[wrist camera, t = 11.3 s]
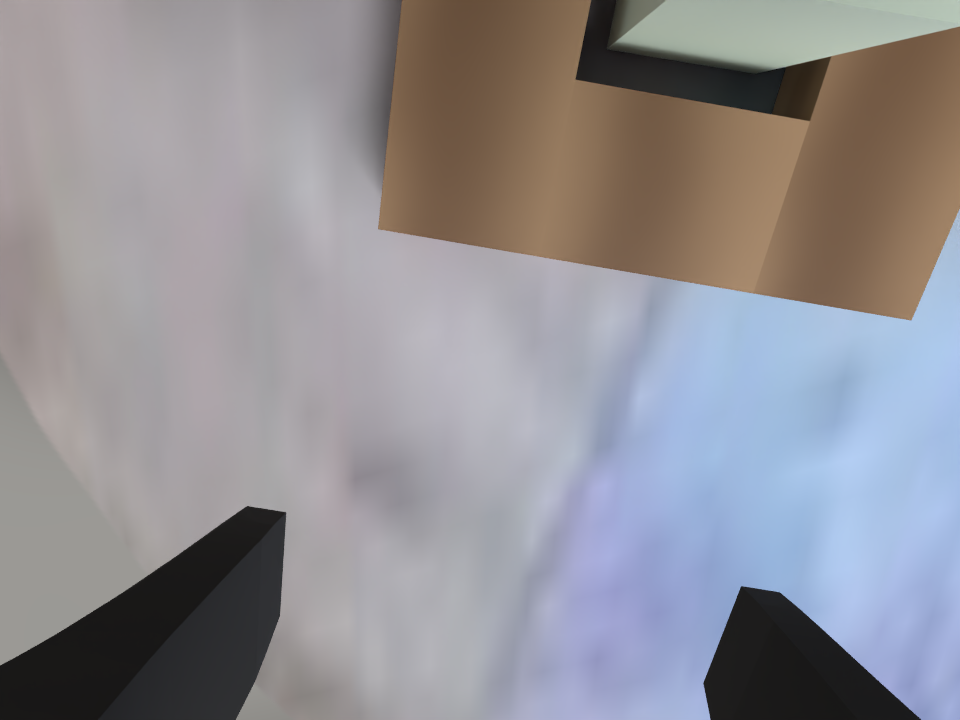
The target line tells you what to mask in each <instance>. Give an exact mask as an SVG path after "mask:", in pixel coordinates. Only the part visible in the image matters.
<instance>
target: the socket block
mask: <svg viewBox="0 0 960 720" xmlns="http://www.w3.org/2000/svg"><path fill="white" fill-rule="evenodd" d="M590 4H591V0H402V4H401V14H400V24H399V33H398V43H397V53H396V62H395V72H394V81H393V91H392V101H391V110H390V120H389V130H388V139H387V149H386V158H385V168H384V178H383V187H382V197H381V207H380V216H379V226H378V229H381V230H387V231H393V232H398V233H404V234H410V235H416V236H422V237H428V238H433V239H439V240H445V241H451V242H457V243H463V244H468V245H474V246H480V247H486V248H492V249H498V250H503V251H509V252H515V253H521V254H527V255H533V256H538V257H544V258H550V259H556V260H562V261H568V262H574V263H579V264H585V265H591V266H597V267H603V268H609V269H614V270H620V271H626V272H632V273H638V274H644V275H649V276H655V277H661V278H667V279H673V280H679V281H684V282H690V283H696V284H702V285H708V286H714V287H719V288H725V289H731V290H737V291H743V292H749V293H754V294H760V295H766V296H772V297H778V298H784V299H789V300H795V301H801V302H807V303H813V304H819V305H824V306H830V307H836V308H842V309H848V310H854V311H859V312H865V313H871V314H877V315H883V316H889V317H895V318H900V319H906V320H912V318H913V315H914V313H915V311H916V308H917V306H918V304H919V301H920V299H921V297H922V294H923V292H924V290H925V287H926V285H927V283H928V280H929V278H930V276H931V274H932V271H933V269H934V267H935V264H936V262H937V260H938V257H939V255H940V253H941V250H942V248H943V246H944V243H945V241H946V239H947V236H948V234H949V232H950V229H951V227H952V225H953V222H954V220H955V218H956V215H957V213H958V211H959V209H960V27H955V28H951V29H947V30H943V31H938V32H934V33H930V34H925V35H921V36H917V37H912V38H908V39H904V40H899V41H895V42H891V43H886V44H882V45H878V46H873V47H869V48H865V49H860V50H856V51H852V52H847V53H843V54H839V55H834V56H830V57H826V58H821V59H817V60H813V61H808V62H804V63H800V64H795V65H791V66H787V67H786V69H785V73H784V76H783V79H782V82H781V86H780V89H779V92H778V95H777V99H776V102H775V105H774V108H773V112H772V114H766V113H761V112H755V111H749V110H744V109H738V108H732V107H727V106H721V105H715V104H710V103H704V102H699V101H693V100H687V99H682V98H676V97H670V96H665V95H659V94H653V93H648V92H642V91H636V90H631V89H625V88H619V87H614V86H608V85H603V84H597V83H591V82H586V81H580V80H575V79H576V74H577V69H578V64H579V59H580V54H581V49H582V44H583V39H584V34H585V29H586V24H587V19H588V14H589V9H590Z"/></svg>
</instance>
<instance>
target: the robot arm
mask: <svg viewBox="0 0 960 720" xmlns="http://www.w3.org/2000/svg"><path fill="white" fill-rule="evenodd" d="M285 523H286V512H280V511H274V510H268V509H262V508H255V507H249V506H247V507H245V508H244V509H242V510H241V511H239V512H238V513H236V514H235V515H234V516H232V517H231V518H229V519H228V520H226V521H225V522H224V523H222V524H221V525H219V526H218V527H217V528H215V529H214V530H212V531H211V532H210V533H208V534H207V535H205V536H204V537H203V538H201V539H200V540H198V541H197V542H196V543H194V544H193V545H191V546H190V547H189V548H187V549H186V550H184V551H183V552H182V553H180V554H179V555H177V556H176V557H174V558H173V559H172V560H170V561H169V562H167V563H166V564H164V565H163V566H161V567H160V568H158V569H157V570H155V571H154V572H152V573H151V574H150V575H148V576H147V577H145V578H144V579H142V580H141V581H139V582H138V583H137V584H135V585H133V586H132V587H131V588H129V589H128V590H126V591H125V592H123V593H121V594H120V595H118V596H117V597H115V598H114V599H112V600H110V601H109V602H108V603H106V604H104V605H103V606H101V607H99V608H98V609H96V610H94V611H93V612H91V613H90V614H88V615H86V616H85V617H83V618H82V619H80V620H78V621H77V622H75V623H74V624H72V625H70V626H69V627H67V628H66V629H64V630H62V631H61V632H59V633H57V634H56V635H54V636H52V637H51V638H49V639H47V640H45V641H44V642H42V643H40V644H39V645H37V646H35V647H33V648H31V649H30V650H28V651H26V652H24V653H23V654H21V655H19V656H17V657H15V658H14V659H12V660H10V661H8V662H6V663H4V664H2V665H0V720H236V718H237V716H238V714H239V712H240V710H241V708H242V706H243V704H244V702H245V700H246V698H247V696H248V694H249V692H250V690H251V688H252V686H253V684H254V682H255V680H256V678H257V675H258V672H259V670H260V667H261V665H262V662H263V660H264V657H265V654H266V652H267V649H268V647H269V644H270V641H271V638H272V636H273V633H274V630H275V628H276V625H277V622H278V619H279V617H280V605H281V588H282V572H283V556H284V539H285ZM704 688H705V693H706V698H707V703H708V708H709V713H710V718H711V720H921V719H920V718H919V717H918V716H916V715H915V714H914V713H913V712H912V711H911V710H910V709H909V708H908V707H906V706H905V705H904V704H903V703H902V702H901V701H900V700H899V699H898V698H896V697H895V696H894V695H893V694H892V693H891V692H890V691H889V690H888V689H887V688H885V687H884V686H883V685H882V684H881V683H880V682H879V681H878V680H877V679H876V678H875V677H873V676H872V675H871V674H870V673H869V672H868V671H867V670H866V669H865V668H864V667H863V666H861V665H860V664H859V663H858V662H857V661H856V660H855V659H854V658H853V657H852V656H851V655H850V654H848V653H847V652H846V651H845V650H844V649H843V648H842V647H841V646H840V645H839V644H838V643H837V642H835V641H834V640H833V639H832V638H831V637H830V636H829V635H828V634H827V633H826V632H825V631H823V630H822V629H821V628H820V627H819V626H818V625H817V624H816V623H815V622H814V621H812V620H811V619H810V618H809V617H808V616H807V615H806V614H805V613H803V612H802V611H801V610H800V609H799V608H798V607H797V606H795V605H794V604H793V603H792V602H791V601H789V600H788V599H787V598H786V597H785V596H783V595H782V594H781V593H780V592H774V591H768V590H762V589H755V588H749V587H743V586H741V588H740V591H739V593H738V596H737V599H736V601H735V604H734V606H733V609H732V611H731V614H730V617H729V619H728V622H727V624H726V627H725V629H724V632H723V634H722V637H721V640H720V642H719V645H718V647H717V650H716V652H715V655H714V657H713V660H712V663H711V665H710V668H709V670H708V673H707V675H706V678H705V680H704Z"/></svg>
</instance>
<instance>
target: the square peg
mask: <svg viewBox="0 0 960 720" xmlns="http://www.w3.org/2000/svg"><path fill="white" fill-rule="evenodd" d="M955 27H960V0H616V5H615V10H614V15H613V20H612V25H611V30H610V35H609V40H608V45H607V49H608V50H614V51H620V52H626V53H632V54H638V55H644V56H651V57H657V58H663V59H669V60H675V61H681V62H687V63H693V64H699V65H705V66H711V67H717V68H723V69H729V70H735V71H741V72H747V73H753V74H756V73H761V72H765V71H769V70H774V69H778V68H782V67H787V66H791V65H795V64H800V63H804V62H808V61H813V60H817V59H821V58H826V57H830V56H834V55H839V54H843V53H847V52H852V51H856V50H860V49H865V48H869V47H873V46H878V45H882V44H886V43H891V42H895V41H899V40H904V39H908V38H912V37H917V36H921V35H925V34H930V33H934V32H938V31H943V30H947V29H951V28H955Z"/></svg>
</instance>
